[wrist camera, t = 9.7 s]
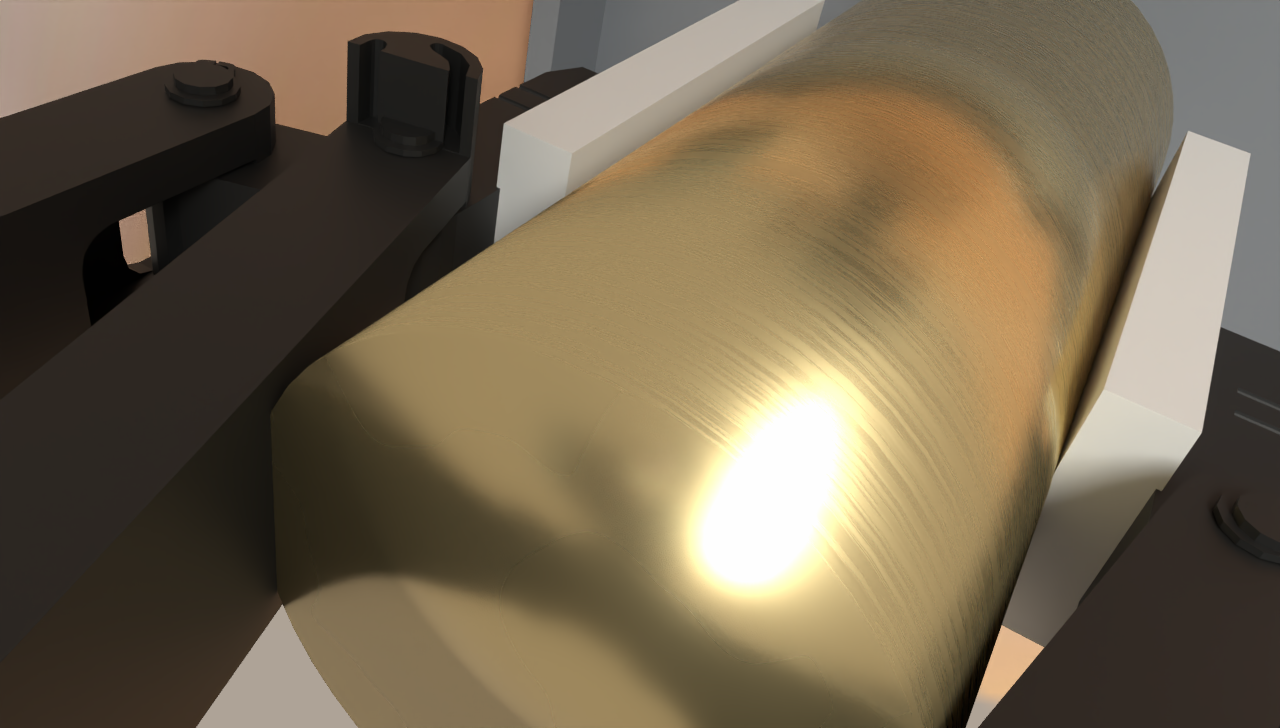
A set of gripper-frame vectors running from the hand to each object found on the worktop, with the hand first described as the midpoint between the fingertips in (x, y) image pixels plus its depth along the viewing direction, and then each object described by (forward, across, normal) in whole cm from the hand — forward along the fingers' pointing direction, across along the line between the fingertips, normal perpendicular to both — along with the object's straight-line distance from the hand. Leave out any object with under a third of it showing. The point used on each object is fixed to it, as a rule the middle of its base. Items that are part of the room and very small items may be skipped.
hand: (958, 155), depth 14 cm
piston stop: (+2, 0, 0) cm, 2 cm away
